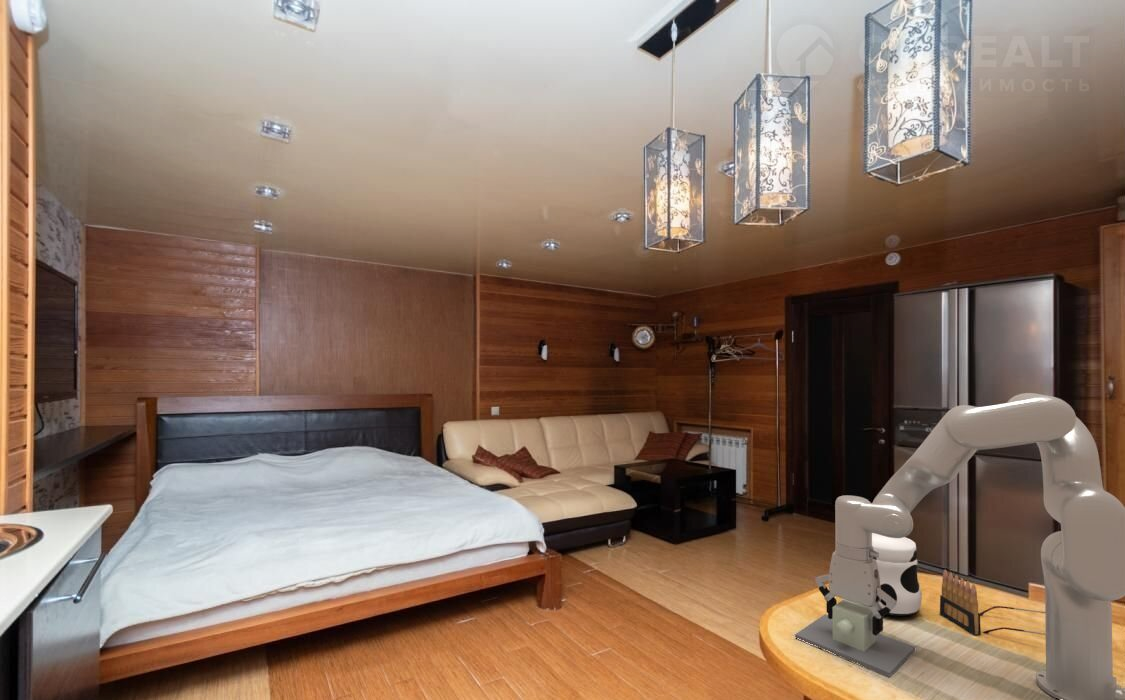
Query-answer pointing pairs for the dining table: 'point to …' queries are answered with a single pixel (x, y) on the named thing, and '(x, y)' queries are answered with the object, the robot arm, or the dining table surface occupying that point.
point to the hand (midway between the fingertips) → (853, 625)
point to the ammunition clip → (960, 603)
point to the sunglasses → (1010, 628)
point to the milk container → (898, 573)
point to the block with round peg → (853, 625)
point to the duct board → (877, 657)
